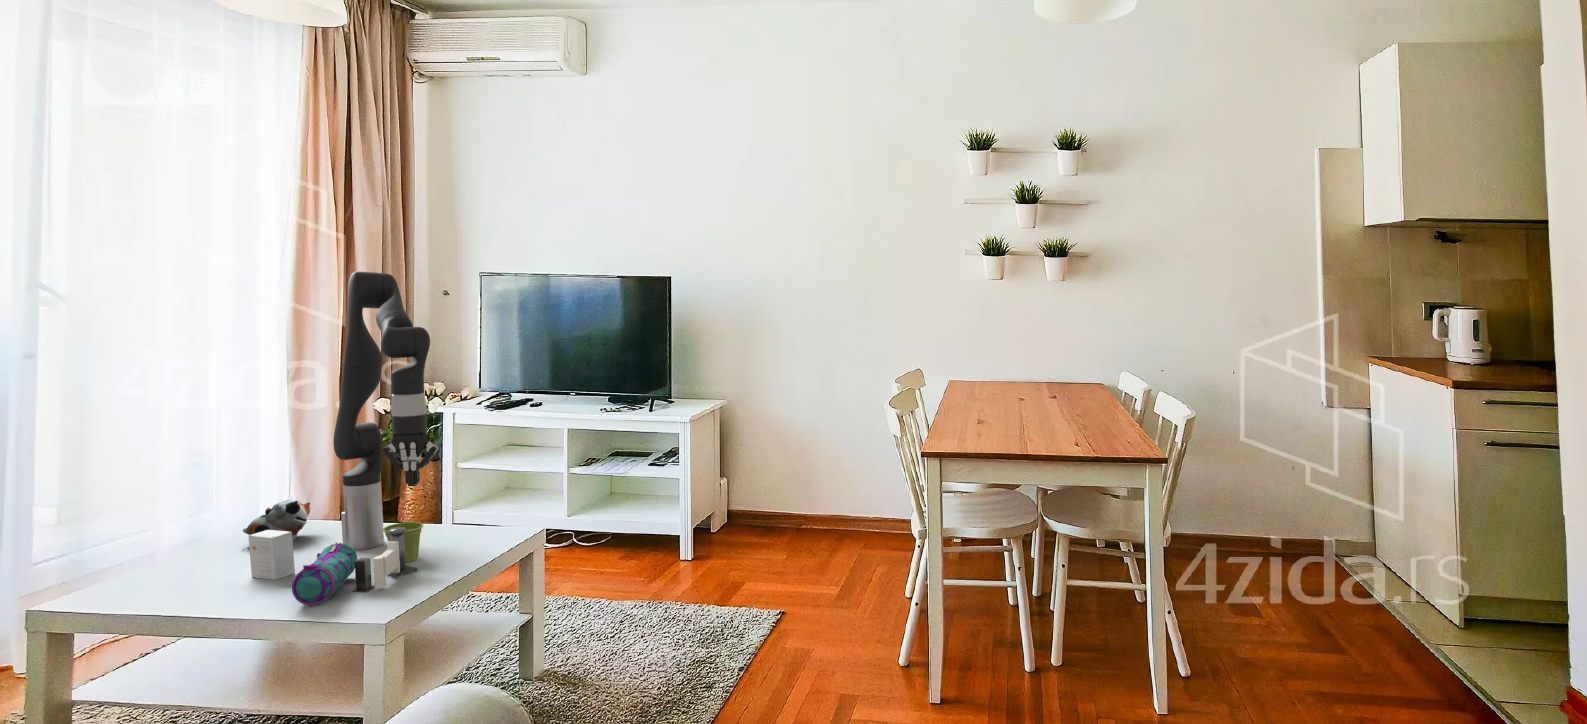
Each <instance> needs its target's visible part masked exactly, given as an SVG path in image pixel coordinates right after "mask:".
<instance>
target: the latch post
mask: <svg viewBox="0 0 1587 724" xmlns="http://www.w3.org/2000/svg"><path fill="white" fill-rule="evenodd" d="M371 560H372V559H371V557H370V558H369V557H367V558H366V557H359V558H357V560H356V561H355V569H354V574H355V575H354V577H355V588H354V589H352V591H351V592H352V593H369V592H370V591H372V590H373V589H375V585H373V582H372V581H373V580H372V562H371Z"/></svg>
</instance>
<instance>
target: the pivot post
mask: <svg viewBox="0 0 1587 724" xmlns="http://www.w3.org/2000/svg"><path fill="white" fill-rule="evenodd" d="M404 532H405V528H404V527H396V528H391V529H389V530H388V534H390V538H391V541H399V560H400V572H399V573H390V574H389V575H387V576H386V577H391V578H394V579H395V578H396V577H397V578H400V577H402V576H403V577H404V576H406V575H410V574H412V572H413V573H416V572H418V571H419V569H418V567H416V566H412V565H408V564H406V562H405V549H404ZM397 578H396V579H397Z"/></svg>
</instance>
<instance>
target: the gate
mask: <svg viewBox="0 0 1587 724" xmlns="http://www.w3.org/2000/svg"><path fill="white" fill-rule="evenodd" d="M372 563H373V581H374V586H375V588H374V589H375V590H378V589H384V588H385V587H386V586H387V577H388V576H387V575H389V574H390V573H399V572H400V560H399V541H389V542H388V541H387V549H386V550H385V551H384V552H383V553H381V554H380V555H376V556H375V557H373V558H372Z"/></svg>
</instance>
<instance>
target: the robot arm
mask: <svg viewBox="0 0 1587 724" xmlns="http://www.w3.org/2000/svg"><path fill="white" fill-rule="evenodd" d="M364 309H377V312H376V315H375V320H376V321H375V322H376V325H377V327H378V328H379V330H380V333H381V336H380V337H381V338H380V347H379V346H378V344H377V342H376V341H375V340H374V338H373V336H372V334H371V333H370V332H369V329H368V328H367V326H366V323H365V321H364V315H363V312H364V311H363V310H364ZM346 324H347V325H346V337H345V343H344V344H345V345H344V353H343V361H342V375H341V389H340V399H339V407H338V412H337V416H336V421H335V428H334V431H333V432H334V433H333V442H332V443H333V450H334V451H333V452H334V454H335V457H337V458H338V459H339V460H342V461H349V460H355V459H360V461H359V462H358V463H357V464H356V465H355V466H354V467H352V468H351V469H349V470H347V471H345V472H344V473H343V475H342V489H343V490H342V491H343V506H344V511H342V512H341V514H340V518H341V534H342V535H341V536H342V537H341V538H342V544H346V545H348V546H349V547H351V548H353V549H354V550H367V549H372V548H376V547H379V546H382V545H383V544H385V543H384V542H385V538H384V537H385V536H384V531H383V529H384V516H383V500H382V498H383V497H382V482H381V475H382V470H383V469H382V468H383V465H382V464H383V461H382V458H383V457H382V452H383V454H384V455H385V457H386V458H387V459H388V460H389V461H390V462H391V463H392V465H393V466H394V467H395V468H396V469H401V470H403V471H404V480H405V484H406V485H407V486H408V487H416V486H418V484H420V481H421V476H420V475H421V473H420V470H421V469H422V468H425V467H427V465H429V463H430V462H431V460H432V459H433V457H434V456H435V455H436V454H437V452H438V451H439V449H440V445H439V444H434V443H433V442H431V439H430V437H429V434H428V419H427V400H426V395H425V377H424V376H425V375H424V374H425V368H426V362H427V359H428V358H427V357H428V355H429V351H430V346H431V337H430V334H429V332H428V330H426V328H424V327H422V326H413V322H412V320H411V318H410V317H409V315H408V313H406V311H405V309H404V305H403V301H402V295H401V293H400V288H399V285H398V282H397V280H396V279H395V277H394V276H393V275H392V274H390V273H386V272H376V271H373V272H372V271H353V272H352V273H351V274H350V277H349V281H348V285H347V321H346ZM381 351H382V352H381ZM383 354H384V355H385V356H386V357H387V358H390V359H400V358H401V359H404V358H405V359H406V358H412V360H411V361H410V363H409V364H408V365H406V366H403V367H399V368H396V369H393V370H392V371H391V373H390V387H391V402H390V413H391V424H392V425H391V426H392V427H391V428H392V429H391V430H392V438H391V440H390V443H389V444H388V445H387V446H385V447H383V446H382V445H383V444H382V443H383V442H382V440H383V439H382V434H381V430H380V427H378V424H376V423H374V422H362V423H361V422H360V423H357V421H358V417H359V415H360V413H361V410H362V408H363V407H364V405H366V402H367V401H368V400H369V399H370V397H371V396H372V395H373V393H374V392H375V390H377V388H378V386H379V384H380V382H381V377H382V368H383V360H384V359H383ZM425 449H426V454H425V455H424V457H423V458H422V453H423V452H424V451H425ZM396 451H397V452H396ZM398 453H399V454H398Z"/></svg>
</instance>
